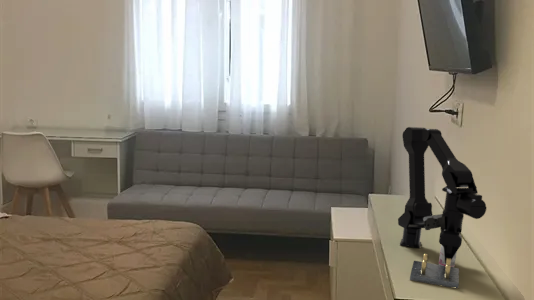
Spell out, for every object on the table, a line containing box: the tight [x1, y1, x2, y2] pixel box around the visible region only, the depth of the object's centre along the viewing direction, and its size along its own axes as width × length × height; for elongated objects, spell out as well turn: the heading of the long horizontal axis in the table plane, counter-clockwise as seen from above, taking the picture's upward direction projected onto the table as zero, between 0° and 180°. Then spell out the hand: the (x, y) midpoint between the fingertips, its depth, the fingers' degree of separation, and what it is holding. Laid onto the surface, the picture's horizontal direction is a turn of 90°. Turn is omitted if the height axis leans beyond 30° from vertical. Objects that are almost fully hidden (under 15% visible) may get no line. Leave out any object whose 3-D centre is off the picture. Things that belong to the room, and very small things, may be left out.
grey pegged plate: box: [409, 253, 460, 289], centre depth 170 cm, size 13×13×5 cm
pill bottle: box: [438, 244, 458, 268], centre depth 180 cm, size 5×5×8 cm
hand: (447, 258), depth 181 cm, fingers open, 9 cm apart
